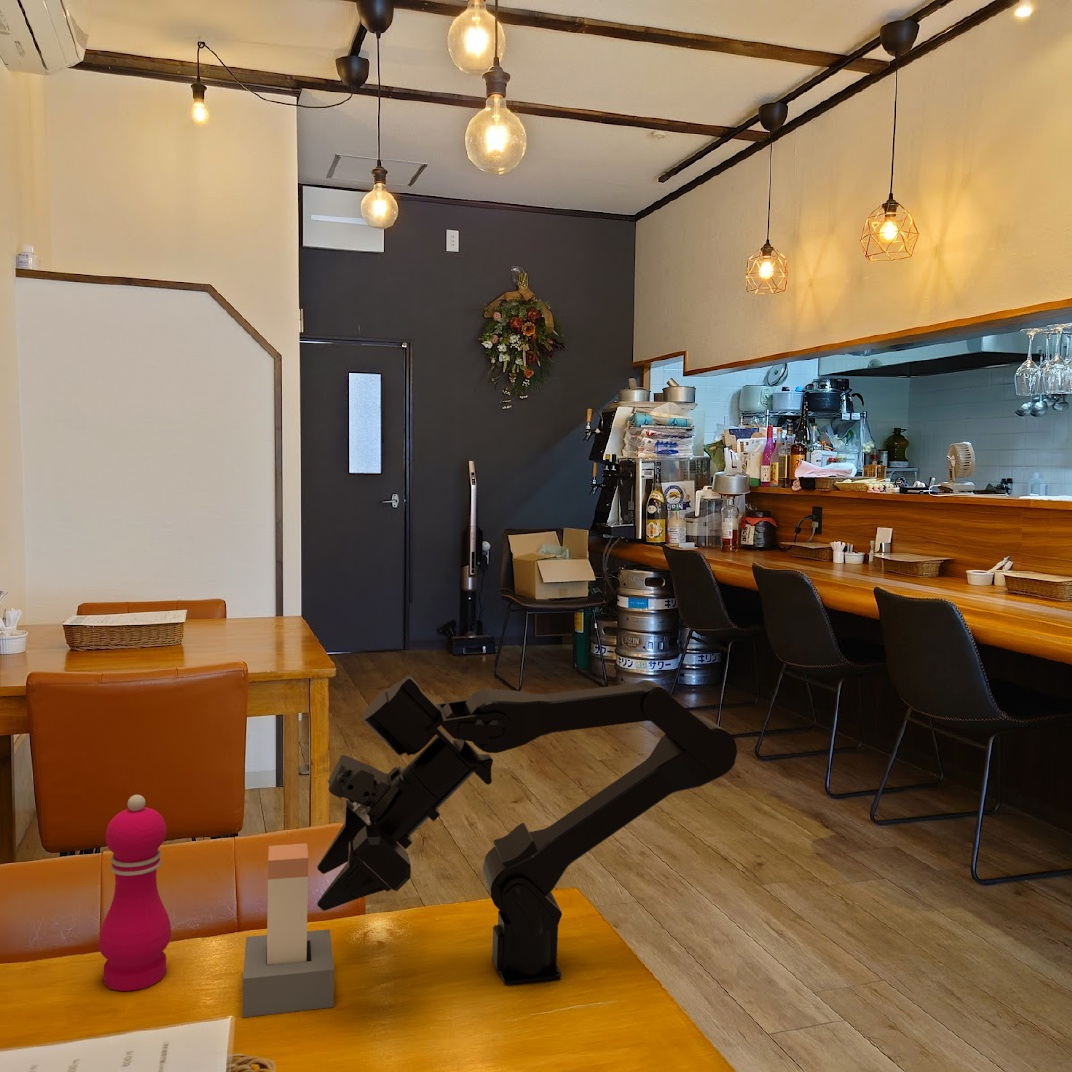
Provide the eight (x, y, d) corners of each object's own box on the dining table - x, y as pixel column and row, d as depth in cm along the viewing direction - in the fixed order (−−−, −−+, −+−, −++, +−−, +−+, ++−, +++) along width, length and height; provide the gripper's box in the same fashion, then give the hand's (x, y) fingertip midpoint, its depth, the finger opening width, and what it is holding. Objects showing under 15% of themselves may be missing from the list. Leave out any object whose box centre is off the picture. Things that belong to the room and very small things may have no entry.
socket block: (329, 963, 107) (329, 929, 107) (333, 1007, 98) (334, 969, 98) (245, 972, 104) (246, 936, 104) (242, 1017, 96) (242, 978, 96)
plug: (304, 977, 104) (307, 843, 103) (305, 997, 100) (308, 857, 99) (266, 981, 103) (268, 845, 102) (266, 1001, 99) (268, 860, 98)
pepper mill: (145, 998, 99) (146, 809, 98) (83, 989, 100) (84, 802, 99) (184, 964, 106) (185, 787, 105) (126, 956, 107) (127, 781, 106)
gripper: (370, 711, 111) (270, 808, 109) (380, 758, 93) (260, 875, 91) (435, 775, 113) (338, 871, 111) (457, 833, 95) (342, 949, 93)
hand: (320, 888), depth 102 cm, fingers open, 9 cm apart
